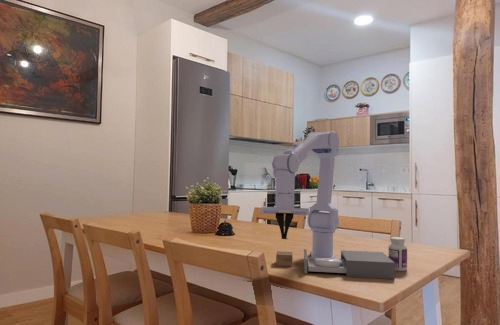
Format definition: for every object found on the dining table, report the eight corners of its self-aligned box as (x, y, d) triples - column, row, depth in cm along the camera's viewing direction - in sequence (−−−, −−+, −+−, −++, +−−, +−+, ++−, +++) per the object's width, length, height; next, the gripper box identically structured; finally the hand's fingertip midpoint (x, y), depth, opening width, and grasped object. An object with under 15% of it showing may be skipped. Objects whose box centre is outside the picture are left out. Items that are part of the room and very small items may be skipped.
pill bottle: (402, 267, 116) (402, 236, 117) (410, 271, 111) (410, 239, 111) (385, 266, 116) (385, 236, 117) (392, 271, 111) (392, 239, 111)
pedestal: (276, 261, 120) (277, 251, 120) (292, 262, 119) (292, 251, 119) (276, 265, 115) (276, 254, 115) (292, 266, 114) (292, 255, 114)
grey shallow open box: (303, 262, 119) (303, 249, 119) (344, 264, 117) (344, 251, 118) (304, 273, 106) (304, 258, 106) (350, 275, 104) (350, 261, 104)
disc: (312, 263, 113) (312, 257, 113) (337, 264, 113) (337, 258, 114) (317, 266, 105) (317, 260, 106) (345, 267, 105) (345, 261, 106)
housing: (340, 264, 118) (340, 250, 118) (382, 266, 116) (382, 252, 116) (346, 276, 104) (347, 260, 104) (394, 279, 102) (394, 262, 102)
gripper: (259, 193, 108) (258, 239, 107) (309, 194, 106) (308, 241, 105) (262, 192, 115) (261, 235, 114) (308, 193, 113) (308, 237, 112)
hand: (284, 238), depth 110 cm, fingers closed
